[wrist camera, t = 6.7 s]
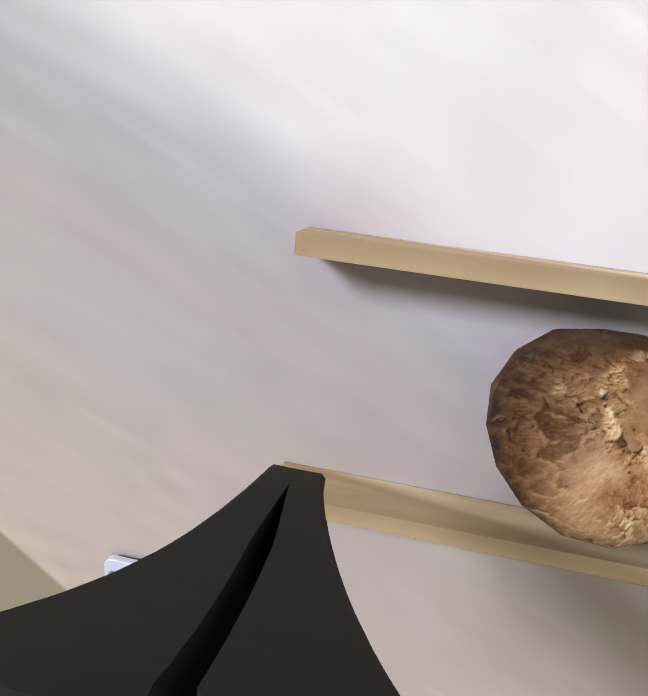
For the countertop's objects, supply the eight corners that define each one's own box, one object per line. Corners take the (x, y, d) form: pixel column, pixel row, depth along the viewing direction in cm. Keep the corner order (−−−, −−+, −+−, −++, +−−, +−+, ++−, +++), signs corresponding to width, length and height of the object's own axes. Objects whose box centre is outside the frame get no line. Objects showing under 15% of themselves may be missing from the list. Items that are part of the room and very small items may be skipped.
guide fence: (660, 550, 21) (709, 617, 17) (282, 476, 23) (262, 524, 19) (773, 290, 17) (863, 314, 14) (309, 227, 19) (289, 234, 16)
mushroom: (577, 592, 18) (680, 629, 12) (426, 439, 21) (452, 409, 15) (702, 450, 20) (848, 422, 14) (547, 321, 22) (615, 251, 16)
